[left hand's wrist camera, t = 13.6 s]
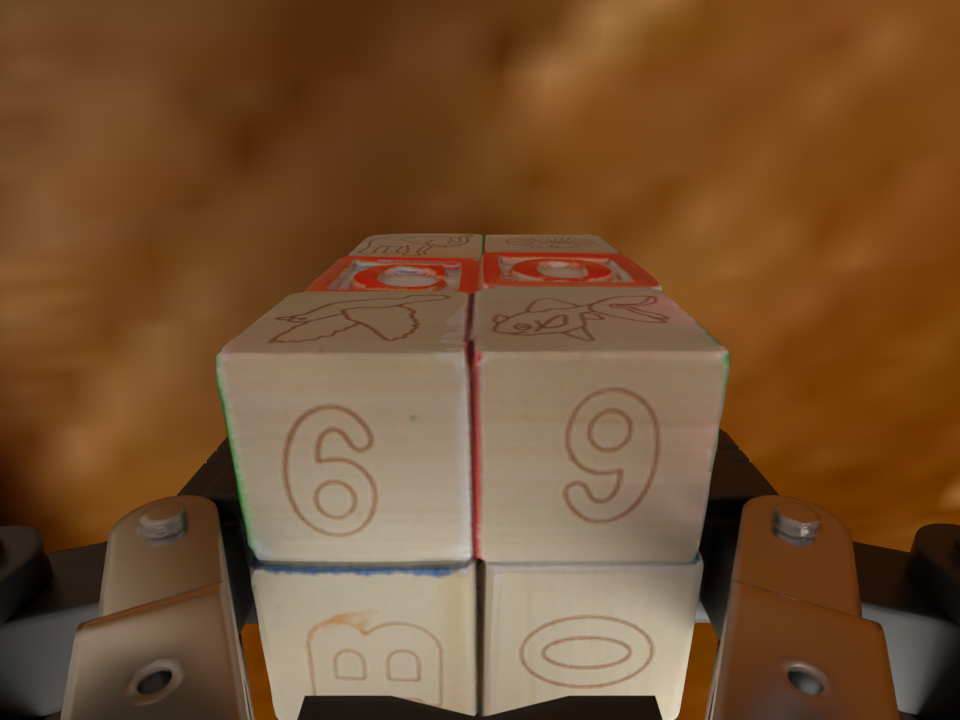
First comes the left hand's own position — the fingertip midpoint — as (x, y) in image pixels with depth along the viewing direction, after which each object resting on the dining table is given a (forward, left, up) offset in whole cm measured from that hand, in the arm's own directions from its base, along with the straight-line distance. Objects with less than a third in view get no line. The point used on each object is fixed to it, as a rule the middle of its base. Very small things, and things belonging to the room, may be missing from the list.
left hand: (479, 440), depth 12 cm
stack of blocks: (+6, -4, -5) cm, 9 cm away
